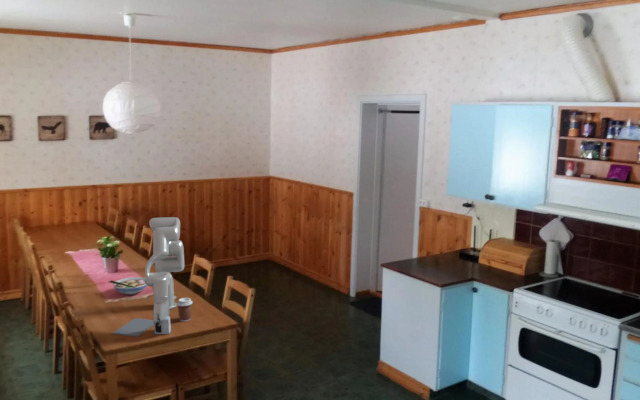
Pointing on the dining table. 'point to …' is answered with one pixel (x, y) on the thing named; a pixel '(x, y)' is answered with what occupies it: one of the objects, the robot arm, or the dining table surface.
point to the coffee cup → (184, 309)
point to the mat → (135, 327)
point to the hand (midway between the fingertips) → (162, 328)
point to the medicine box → (164, 326)
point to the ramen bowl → (129, 285)
